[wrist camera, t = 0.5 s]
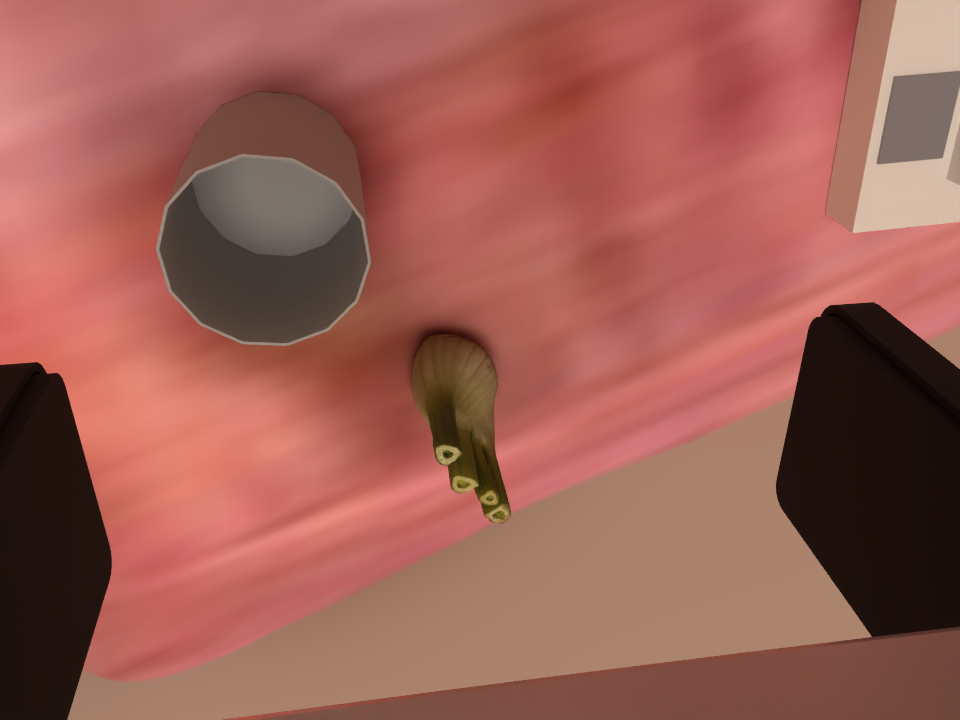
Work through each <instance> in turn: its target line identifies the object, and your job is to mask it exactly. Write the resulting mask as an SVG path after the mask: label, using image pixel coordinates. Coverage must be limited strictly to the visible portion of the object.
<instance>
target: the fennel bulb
mask: <svg viewBox="0 0 960 720" xmlns="http://www.w3.org/2000/svg"><path fill="white" fill-rule="evenodd" d="M497 381H498V380H497V372H496V369H495V366H494V363H493V361H492V359H491V358H490V356H489V355H488V354H487V353H486V352H485V351H484V350H483V349H482V348H481V347H480V346H479V345H477V344H476V343H474V342H473V341H471V340H469V339H466V338H463V337H460V336H457V335H453V334H439V335H432V336H430V337H427V338H426V339H425V340H424V341H423V343H422V345H421V347H420V348H419V350H418V351H417V354H416V358H415V360H414V362H413V369H412V376H411V391H412V395H413V399H414V402H415V404H416V406H417V408H418V410H419V412H420V413H421V415H422V416H423V418H424V419H425V420H426V421H427V422H428V424H429V425H430V428H431V432H432V436H433V447H434V452H435V458H436V460H437V461H438V462H439V463H440V464H441V465H445V466H447V465H448V470H449V478H450V485H451V489H452V490H454V491H455V492H457V493H459V494H462V493H463V492H468V491H470V490H472V489H473V488H474V489H475V493H476V494H477V497H478V499H479V501H480V502H481V505H482V509H483V513H484V515H485V517H487V518H488V519H489V521H491V522H494V523H501V524H502V523H504V522H506V521H507V520H508V519H509V518H510V517H511V510H510V505H509V502H508V497H507V494H506V490H505V487H504V483H503V480H502V476H501V473H500V469H499V465H498V461H497V458H496V453H495V429H494V401H495V396H496V391H497V386H498V382H497Z"/></svg>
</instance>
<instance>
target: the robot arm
mask: <svg viewBox="0 0 960 720" xmlns="http://www.w3.org/2000/svg"><path fill="white" fill-rule="evenodd" d="M776 493H777V498H778V501H779V504H780V506H781V508H782V510H783V511H784V513H785V514H786V515H787V517H788V518H789V520H790V521H791V523H792V524H793V525H794V527H795V528H796V530H797V531H798V532H799V534H800V535H801V537H802V538H803V540H804V541H805V542H806V544H807V545H808V547H809V548H810V549H811V550H812V552H813V554H814V555H815V556H816V558H817V559H818V561H819V562H820V564H821V565H822V566H823V568H824V569H825V571H826V572H827V574H828V575H829V576H830V578H831V579H832V581H833V582H834V583H835V585H836V586H837V588H838V589H839V590H840V592H841V593H842V595H843V596H844V598H845V599H846V600H847V602H848V603H849V605H850V606H851V607H852V609H853V610H854V612H855V613H856V615H857V616H858V617H859V619H860V620H861V622H862V623H863V625H864V626H865V627H866V629H867V630H868V632H869V633H870V634H871V636H872V637H870V638H861V639H853V640H846V641H837V642H829V643H820V644H812V645H803V646H795V647H787V648H778V649H771V650H762V651H754V652H745V653H737V654H729V655H721V656H713V657H705V658H697V659H689V660H682V661H673V662H666V663H657V664H649V665H641V666H633V667H625V668H617V669H609V670H601V671H593V672H585V673H577V674H570V675H561V676H554V677H546V678H538V679H530V680H522V681H514V682H507V683H499V684H491V685H483V686H476V687H468V688H459V689H451V690H443V691H436V692H428V693H421V694H413V695H406V696H399V697H390V698H383V699H375V700H368V701H360V702H352V703H346V704H337V705H330V706H323V707H315V708H307V709H299V710H292V711H284V712H277V713H269V714H262V715H254V716H247V717H239V718H232V719H224V720H960V369H959V368H957V367H956V366H955V365H954V364H952V363H951V362H950V361H949V360H947V359H946V358H945V357H943V356H942V355H941V354H940V353H939V352H937V351H936V350H935V349H934V348H932V347H931V346H930V345H929V344H927V343H926V342H925V341H924V340H922V339H921V338H920V337H919V336H917V335H916V334H915V333H914V332H912V331H911V330H910V329H909V328H907V327H906V326H905V325H903V324H902V323H901V322H900V321H898V320H897V319H896V318H895V317H893V316H892V315H891V314H890V313H888V312H887V311H886V310H885V309H883V308H882V307H881V306H880V305H878V304H876V303H874V302H873V303H857V304H843V305H830V306H829V307H827V308H826V309H825V310H824V311H823V313H822V314H821V317H816V318H815V319H813V321H812V322H811V324H810V326H809V329H808V334H807V339H806V343H805V348H804V353H803V357H802V362H801V367H800V372H799V376H798V381H797V386H796V391H795V395H794V400H793V405H792V410H791V414H790V419H789V424H788V428H787V433H786V438H785V443H784V447H783V452H782V457H781V462H780V466H779V471H778V476H777V481H776ZM111 568H112V558H111V550H110V545H109V542H108V538H107V534H106V531H105V527H104V524H103V520H102V516H101V513H100V509H99V506H98V502H97V498H96V495H95V491H94V488H93V484H92V480H91V477H90V473H89V470H88V466H87V462H86V459H85V455H84V452H83V448H82V444H81V441H80V437H79V434H78V430H77V426H76V423H75V419H74V416H73V412H72V409H71V405H70V401H69V398H68V394H67V391H66V387H65V384H64V381H63V379H62V377H61V376H60V375H59V374H58V373H51V374H47V373H46V371H45V369H44V368H43V366H42V365H41V364H39V363H38V362H35V363H21V364H7V365H0V720H67V719H68V715H69V712H70V709H71V705H72V702H73V699H74V695H75V692H76V689H77V686H78V682H79V679H80V676H81V672H82V669H83V666H84V663H85V659H86V656H87V653H88V649H89V646H90V643H91V640H92V636H93V633H94V630H95V626H96V623H97V620H98V617H99V613H100V610H101V607H102V603H103V600H104V597H105V593H106V590H107V587H108V584H109V580H110V576H111Z"/></svg>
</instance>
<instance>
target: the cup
mask: <svg viewBox="0 0 960 720" xmlns="http://www.w3.org/2000/svg"><path fill="white" fill-rule="evenodd" d="M156 251H157V255H158V258H159V261H160V264H161V268H162V271H163V274H164V277H165V281H166V284H167V287H168V290H169V292H170V294H171V295H172V296H173V297H174V298H175V299H176V300H177V301H178V302H179V303H180V304H181V305H182V306H183V307H184V309H185V310H186V311H187V312H188V313H189V314H190V315H191V316H192V317H193V318H194V319H195V320H196V321H197V323H198V324H199V325H201V326H203V327H205V328H207V329H210V330H212V331H214V332H216V333H219V334H221V335H223V336H225V337H228V338H230V339H232V340H234V341H237V342H239V343H241V344H255V345H280V346H288V345H291V344H294V343H296V342H299V341H302V340H305V339H307V338H310V337H313V336H316V335H318V334H321V333H324V332H326V331H329V330H330V329H331V328H332V327H333V326H334V325H335V324H336V323H337V322H338V321H339V320H340V319H341V318H342V317H343V316H344V315H345V314H346V313H347V312H348V311H349V310H350V309H351V308H352V307H353V306H354V305H355V304H356V303H357V302H358V300H359V297H360V294H361V291H362V288H363V285H364V282H365V279H366V276H367V273H368V270H369V267H370V264H371V256H370V248H369V240H368V231H367V223H366V214H365V206H364V198H363V189H362V181H361V175H360V169H359V163H358V157H357V151H356V147H355V145H354V144H353V142H352V141H351V139H350V138H349V137H348V135H347V134H346V132H345V131H344V129H343V128H342V127H341V125H340V124H339V122H338V121H337V120H336V118H335V117H334V115H332V114H330V113H329V112H327V111H325V110H324V109H322V108H320V107H318V106H317V105H315V104H313V103H312V102H310V101H308V100H306V99H305V98H303V97H301V96H300V95H293V94H283V93H273V92H262V91H257V92H255V93H252V94H249V95H247V96H244V97H241V98H239V99H236V100H234V101H231V102H228V103H226V104H223V105H221V106H220V107H219V109H218V110H217V111H216V112H215V113H214V114H213V115H212V117H211V118H210V119H209V120H208V121H207V122H206V123H205V125H204V126H203V127H202V128H201V129H200V130H199V131H198V133H197V134H196V136H195V139H194V141H193V143H192V145H191V148H190V150H189V152H188V155H187V157H186V159H185V161H184V164H183V166H182V168H181V170H180V173H179V175H178V177H177V180H176V182H175V184H174V186H173V189H172V191H171V193H170V195H169V198H168V200H167V202H166V205H165V208H164V213H163V217H162V222H161V227H160V232H159V236H158V241H157V246H156Z"/></svg>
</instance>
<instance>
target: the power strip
mask: <svg viewBox="0 0 960 720" xmlns="http://www.w3.org/2000/svg"><path fill="white" fill-rule="evenodd" d="M825 213H826V214H827V215H828V216H830V217H831V218H832V219H834V220H835V221H837V222H838V223H839V224H841V225H842V226H843V227H845V228H846V229H848V230H849V231H850V232H852V233H858V232H867V231H877V230H886V229H896V228H905V227H915V226H924V225H934V224H943V223H953V222H960V0H862V1H861V7H860V13H859V18H858V24H857V30H856V36H855V42H854V48H853V53H852V59H851V65H850V71H849V77H848V83H847V88H846V94H845V100H844V106H843V112H842V118H841V123H840V129H839V135H838V141H837V147H836V153H835V158H834V164H833V170H832V176H831V182H830V188H829V193H828V199H827V205H826V211H825Z"/></svg>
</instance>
